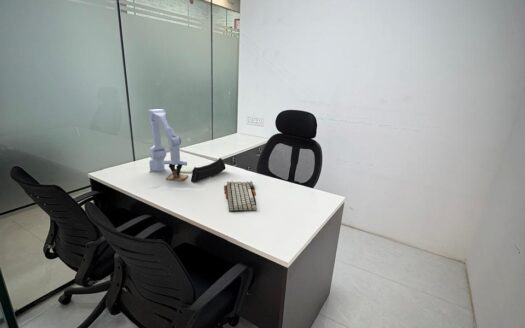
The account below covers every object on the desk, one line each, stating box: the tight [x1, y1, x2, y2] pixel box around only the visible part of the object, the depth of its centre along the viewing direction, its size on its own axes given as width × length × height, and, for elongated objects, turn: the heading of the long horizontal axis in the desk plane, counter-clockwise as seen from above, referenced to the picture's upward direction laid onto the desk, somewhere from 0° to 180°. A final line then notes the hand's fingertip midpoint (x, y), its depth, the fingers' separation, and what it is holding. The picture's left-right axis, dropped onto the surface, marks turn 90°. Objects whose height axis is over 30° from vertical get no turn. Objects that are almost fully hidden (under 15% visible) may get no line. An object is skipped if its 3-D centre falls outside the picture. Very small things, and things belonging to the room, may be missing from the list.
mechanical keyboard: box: [223, 180, 257, 213], centre depth 154 cm, size 38×19×3 cm, turn 10°
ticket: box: [180, 166, 194, 174], centre depth 188 cm, size 12×9×1 cm
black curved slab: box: [190, 157, 227, 183], centre depth 179 cm, size 17×3×30 cm
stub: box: [165, 168, 189, 182], centre depth 174 cm, size 12×8×6 cm, turn 87°
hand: (176, 175), depth 172 cm, fingers closed on stub, 2 cm apart
